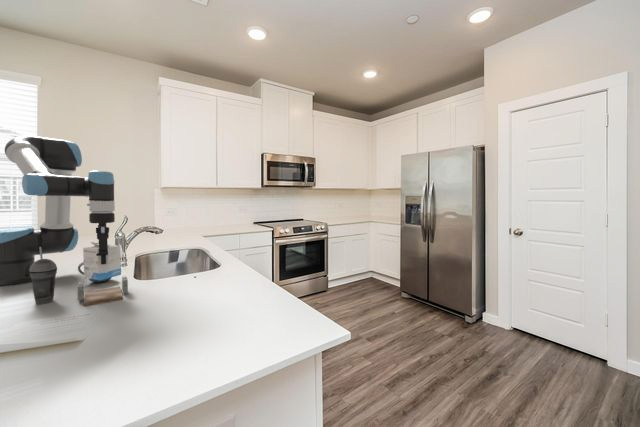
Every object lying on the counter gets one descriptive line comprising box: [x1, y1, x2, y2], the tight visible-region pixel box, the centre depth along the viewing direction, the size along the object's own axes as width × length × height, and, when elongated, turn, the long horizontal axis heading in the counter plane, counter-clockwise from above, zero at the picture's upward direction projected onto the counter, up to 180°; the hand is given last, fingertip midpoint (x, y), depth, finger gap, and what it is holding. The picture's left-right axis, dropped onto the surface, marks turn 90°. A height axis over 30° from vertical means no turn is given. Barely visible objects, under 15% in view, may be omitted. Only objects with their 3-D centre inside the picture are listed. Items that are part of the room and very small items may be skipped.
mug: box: [77, 261, 113, 284], centre depth 122 cm, size 10×12×10 cm
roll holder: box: [76, 275, 129, 306], centre depth 106 cm, size 15×15×6 cm
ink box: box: [82, 241, 122, 281], centre depth 105 cm, size 9×8×13 cm
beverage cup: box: [29, 247, 58, 305], centre depth 99 cm, size 7×7×20 cm
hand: (103, 269), depth 105 cm, fingers closed on ink box, 11 cm apart
